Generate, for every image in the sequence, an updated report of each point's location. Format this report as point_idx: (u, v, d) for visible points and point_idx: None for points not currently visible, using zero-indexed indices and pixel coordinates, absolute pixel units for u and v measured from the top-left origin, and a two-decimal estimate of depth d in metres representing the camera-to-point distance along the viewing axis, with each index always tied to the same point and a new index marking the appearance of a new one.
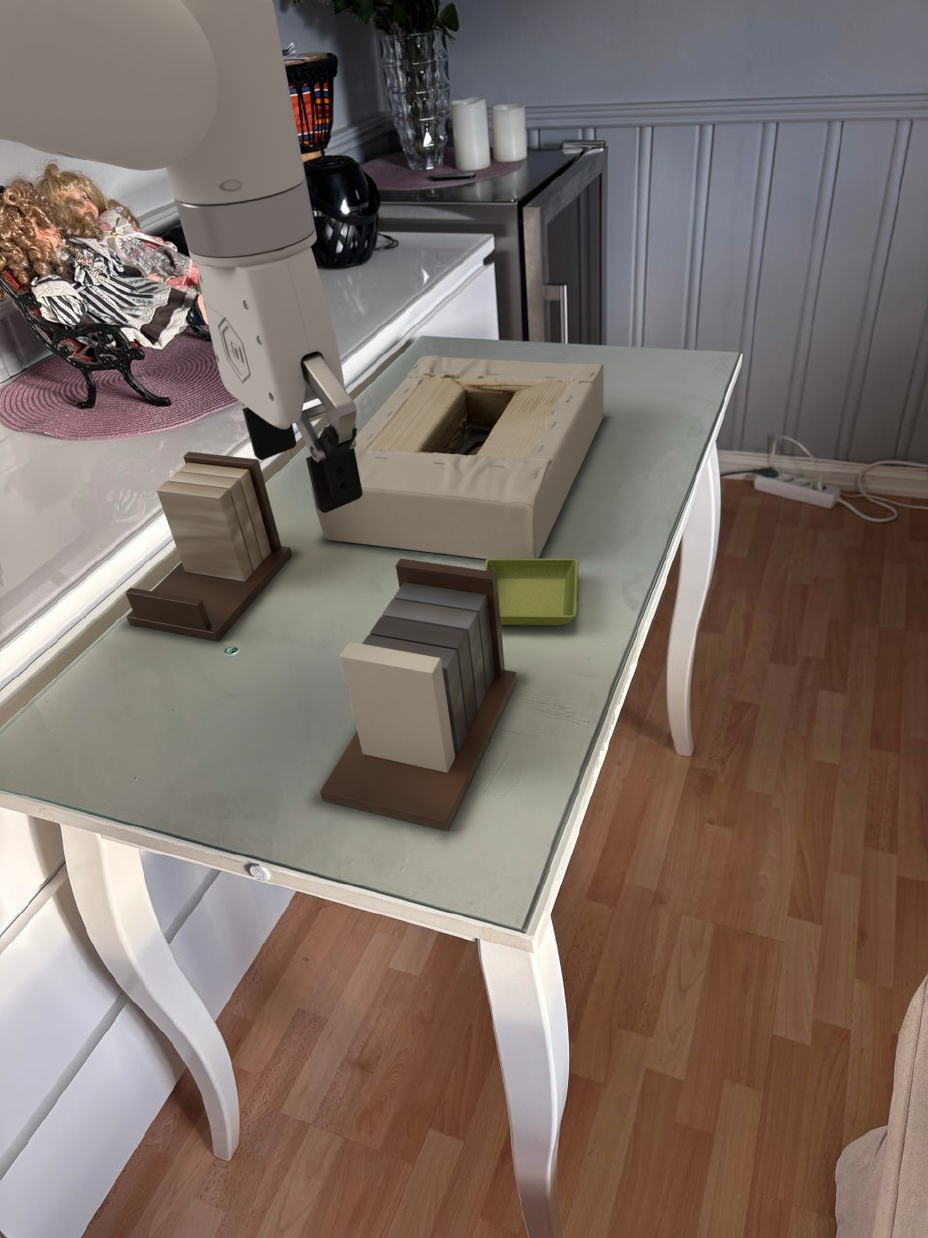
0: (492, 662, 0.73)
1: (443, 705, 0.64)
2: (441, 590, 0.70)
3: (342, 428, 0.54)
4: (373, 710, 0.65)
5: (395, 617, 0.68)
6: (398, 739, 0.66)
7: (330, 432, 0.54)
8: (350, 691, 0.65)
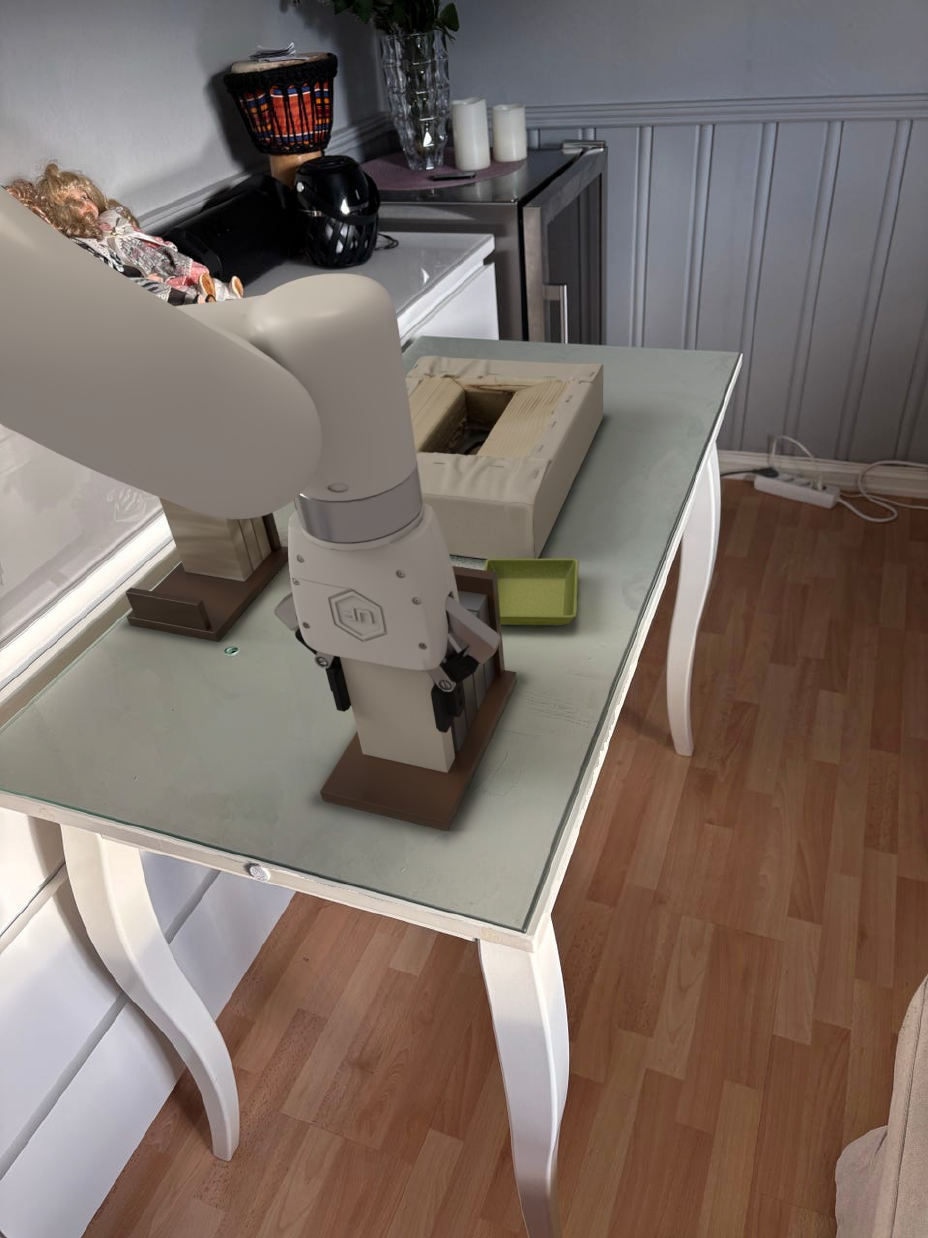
0: (492, 662, 0.73)
1: None
2: None
3: None
4: (373, 710, 0.65)
5: None
6: (398, 739, 0.66)
7: (473, 664, 0.59)
8: (350, 691, 0.65)
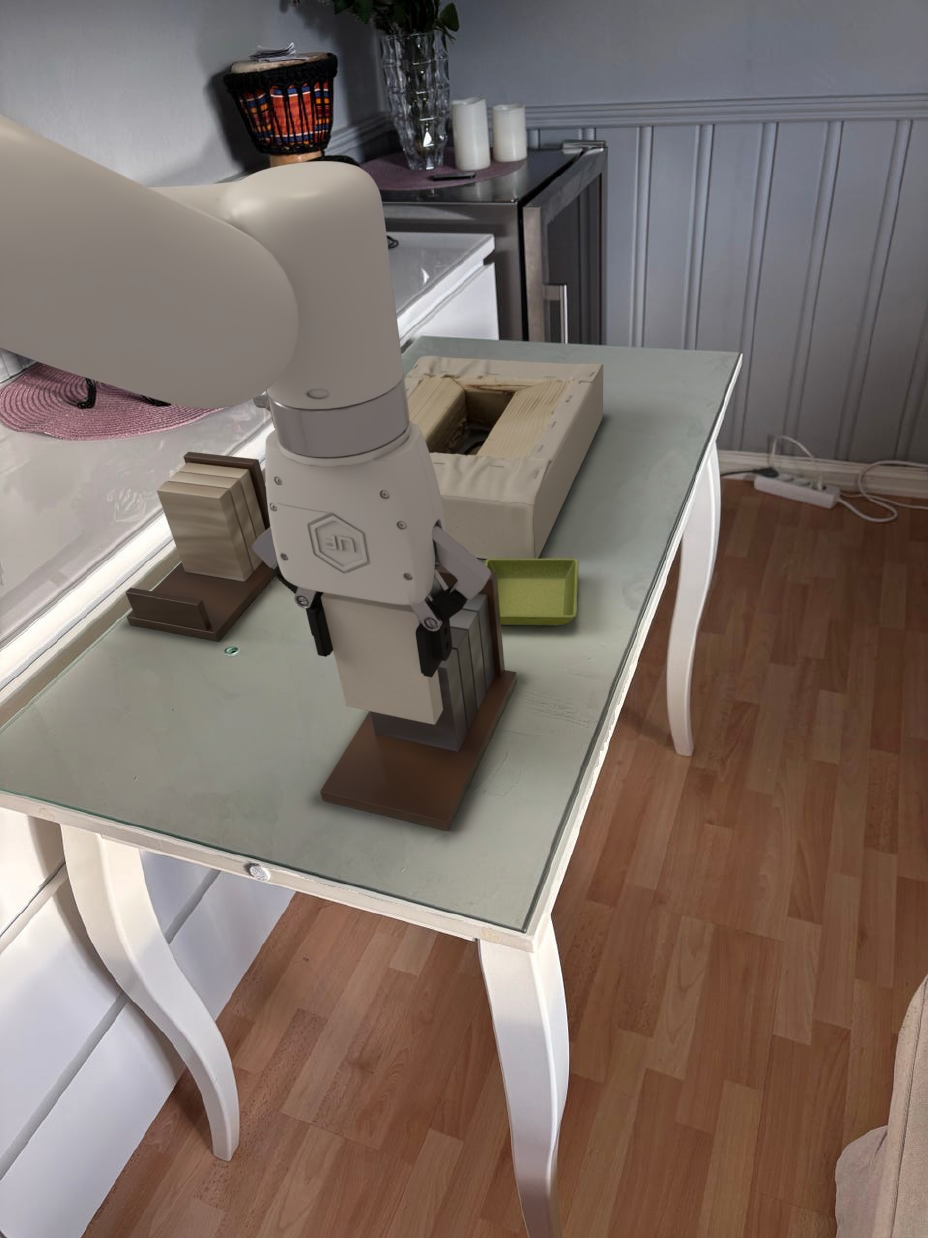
0: (492, 662, 0.73)
1: None
2: None
3: None
4: (357, 657, 0.62)
5: None
6: (383, 688, 0.63)
7: (460, 599, 0.55)
8: (332, 636, 0.61)
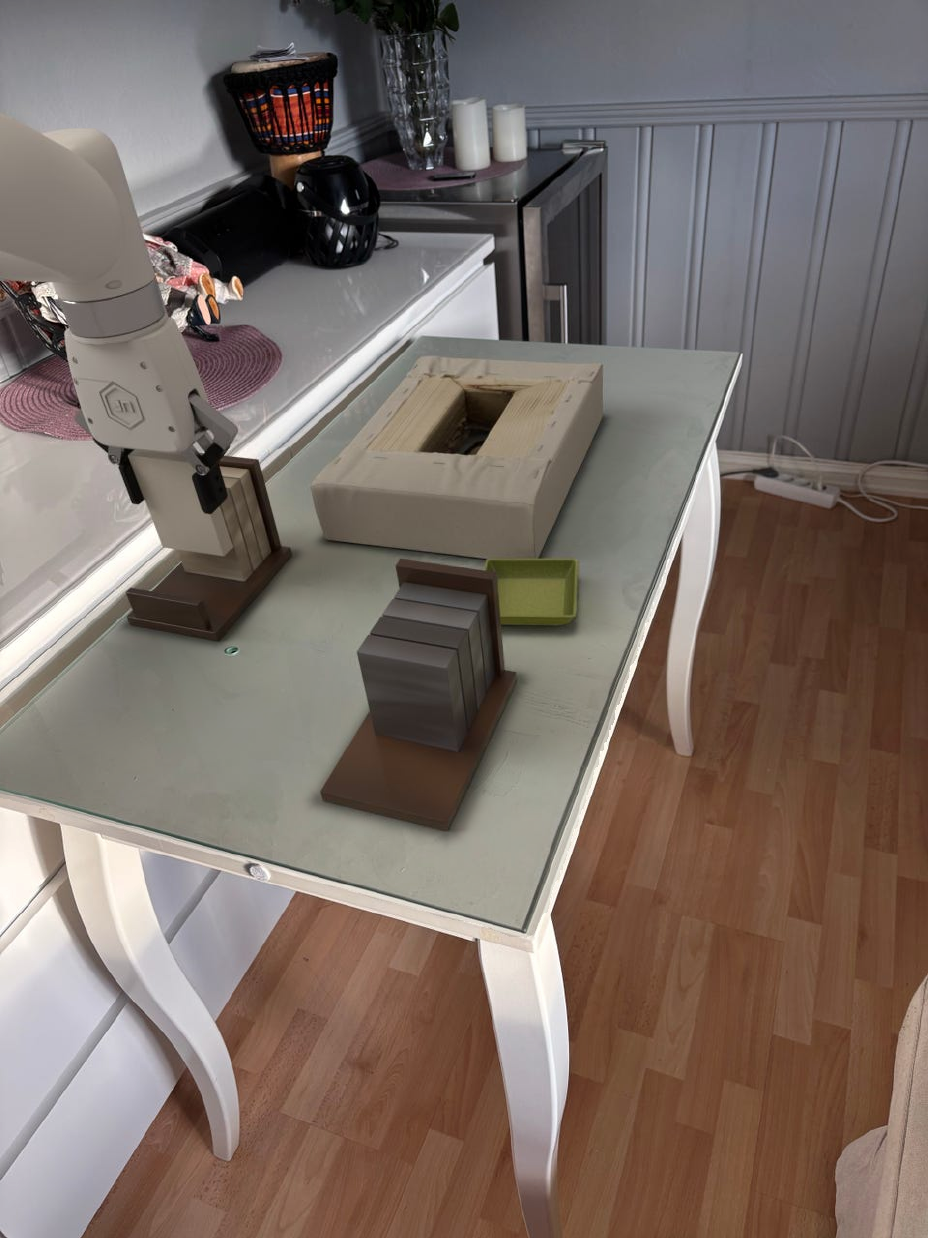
0: (492, 662, 0.73)
1: None
2: (441, 590, 0.70)
3: (227, 445, 0.76)
4: (161, 504, 0.83)
5: (395, 617, 0.68)
6: (183, 529, 0.84)
7: (217, 449, 0.76)
8: (141, 488, 0.82)
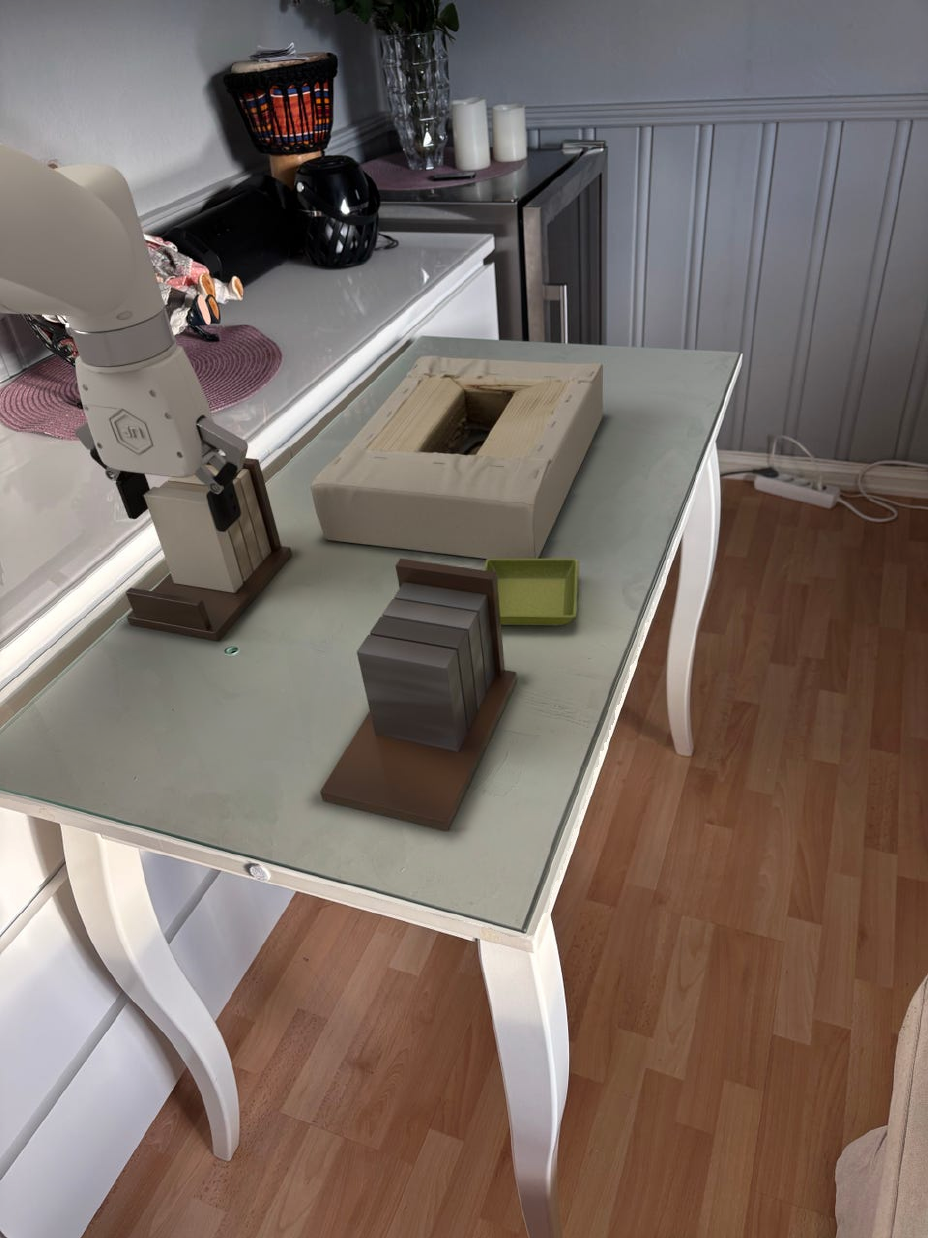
0: (492, 662, 0.73)
1: (224, 534, 0.84)
2: (441, 590, 0.70)
3: (240, 461, 0.77)
4: (174, 541, 0.85)
5: (395, 617, 0.68)
6: (195, 566, 0.86)
7: (231, 467, 0.77)
8: (156, 526, 0.85)
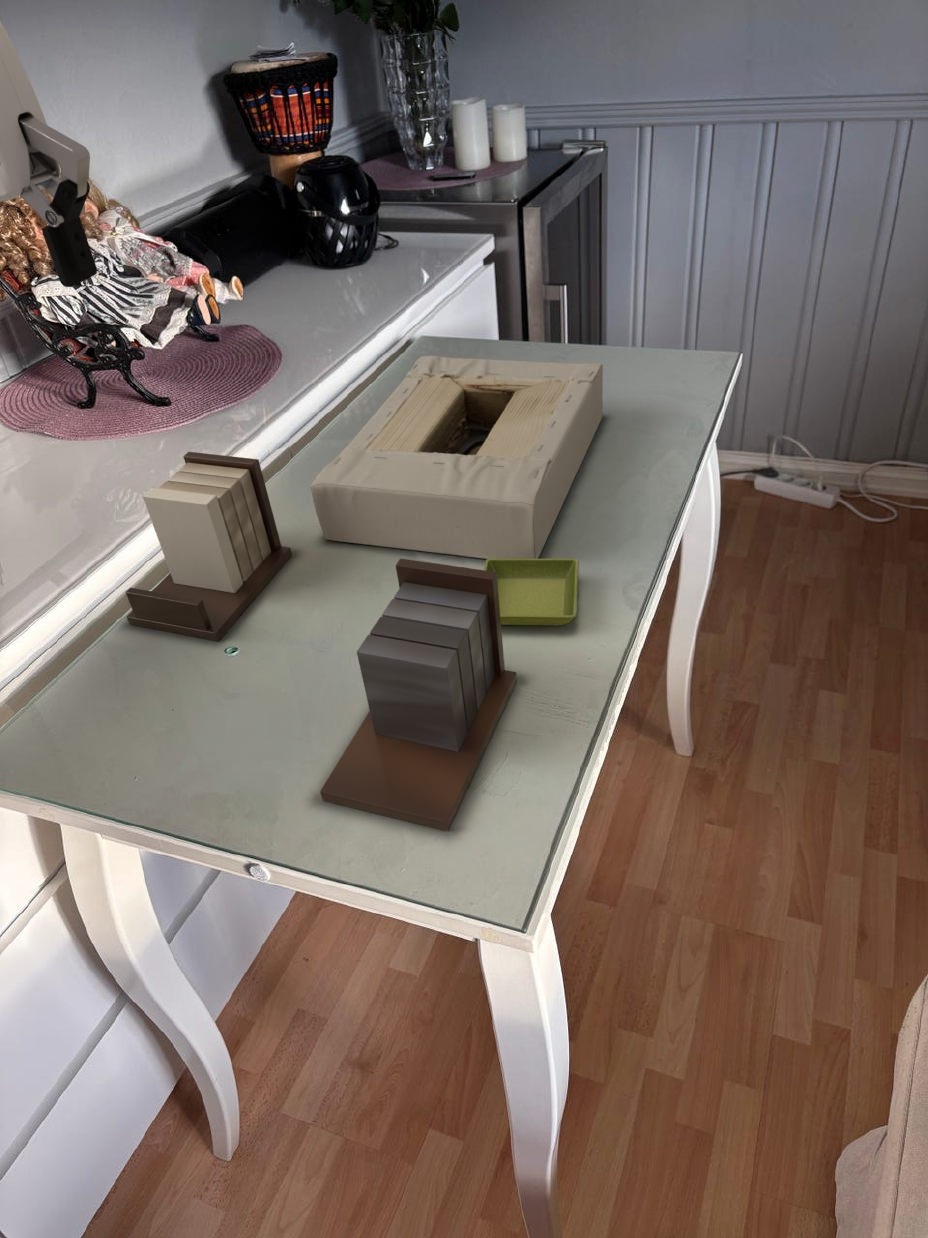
0: (492, 662, 0.73)
1: (223, 534, 0.84)
2: (441, 590, 0.70)
3: (80, 176, 0.59)
4: (174, 542, 0.85)
5: (395, 617, 0.68)
6: (195, 566, 0.86)
7: (68, 184, 0.59)
8: (155, 527, 0.85)
